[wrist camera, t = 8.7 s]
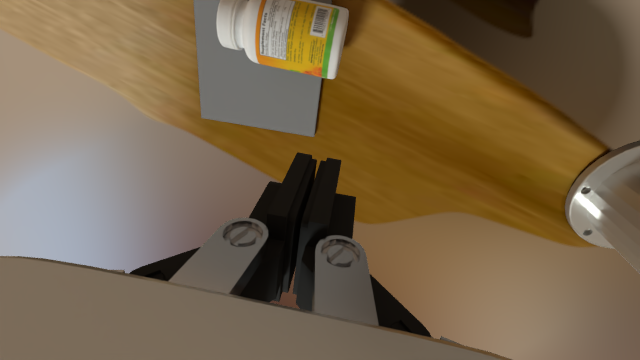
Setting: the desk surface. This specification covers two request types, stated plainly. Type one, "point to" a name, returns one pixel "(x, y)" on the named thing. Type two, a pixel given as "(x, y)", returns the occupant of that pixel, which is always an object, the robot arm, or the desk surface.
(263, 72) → the rubber mat
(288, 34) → the supplement bottle
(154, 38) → the desk surface
